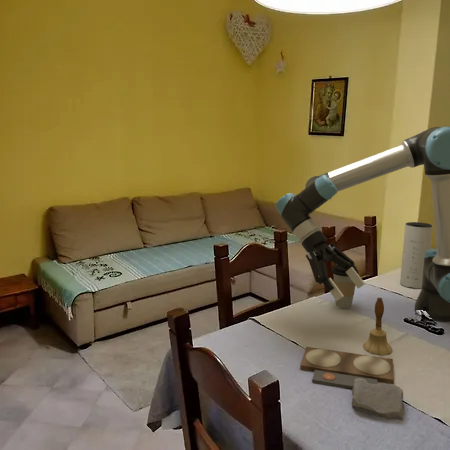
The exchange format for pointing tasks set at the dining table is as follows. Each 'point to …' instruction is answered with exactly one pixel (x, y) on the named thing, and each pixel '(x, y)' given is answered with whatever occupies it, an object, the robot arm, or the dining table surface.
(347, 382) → the pattern card
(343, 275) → the coffee cup
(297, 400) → the dining table surface
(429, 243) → the white tall cylinder
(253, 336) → the dining table surface
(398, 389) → the stone block
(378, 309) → the hand bell
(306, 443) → the dining table surface
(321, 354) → the board
